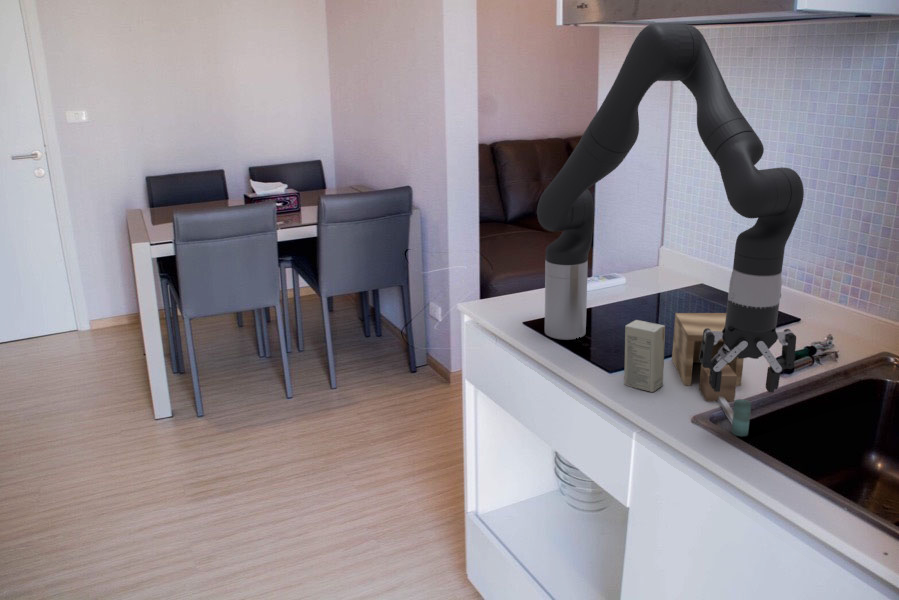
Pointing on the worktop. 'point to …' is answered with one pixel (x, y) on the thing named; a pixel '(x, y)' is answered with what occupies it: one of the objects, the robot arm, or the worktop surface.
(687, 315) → the oak cubby
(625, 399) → the worktop surface
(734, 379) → the mallet
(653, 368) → the skincare box
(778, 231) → the robot arm
